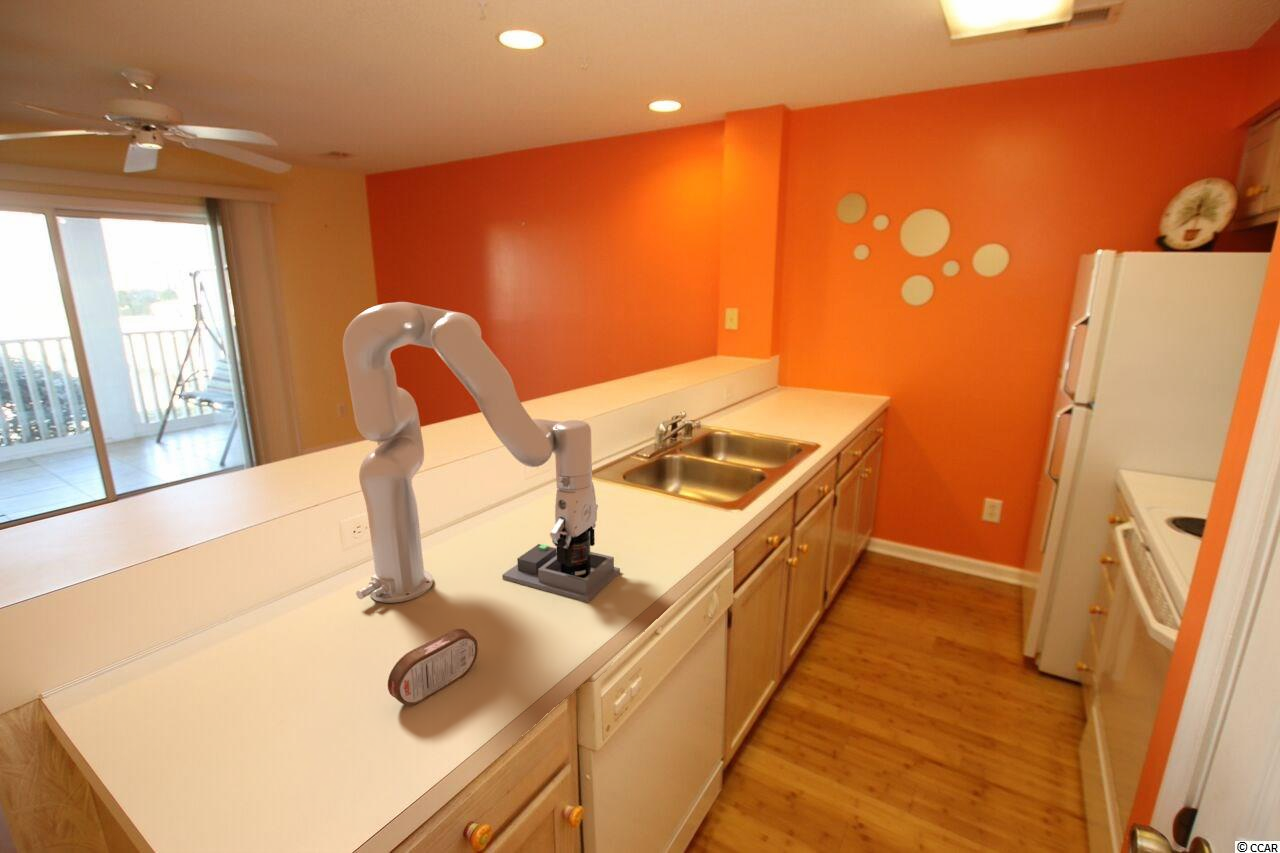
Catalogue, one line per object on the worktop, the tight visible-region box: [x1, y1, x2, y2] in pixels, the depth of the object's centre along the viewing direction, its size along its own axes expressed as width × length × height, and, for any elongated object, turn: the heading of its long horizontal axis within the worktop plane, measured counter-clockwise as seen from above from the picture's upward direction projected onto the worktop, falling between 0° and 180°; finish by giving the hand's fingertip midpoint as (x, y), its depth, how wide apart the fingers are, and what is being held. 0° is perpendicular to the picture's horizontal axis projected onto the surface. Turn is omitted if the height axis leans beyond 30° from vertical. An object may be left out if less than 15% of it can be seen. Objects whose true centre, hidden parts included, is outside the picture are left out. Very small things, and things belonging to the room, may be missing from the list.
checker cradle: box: [501, 543, 621, 603], centre depth 129 cm, size 14×22×5 cm, turn 64°
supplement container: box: [560, 528, 591, 578], centre depth 127 cm, size 7×7×10 cm
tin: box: [387, 628, 479, 706], centre depth 94 cm, size 15×3×8 cm, turn 141°
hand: (576, 553), depth 127 cm, fingers open, 9 cm apart
